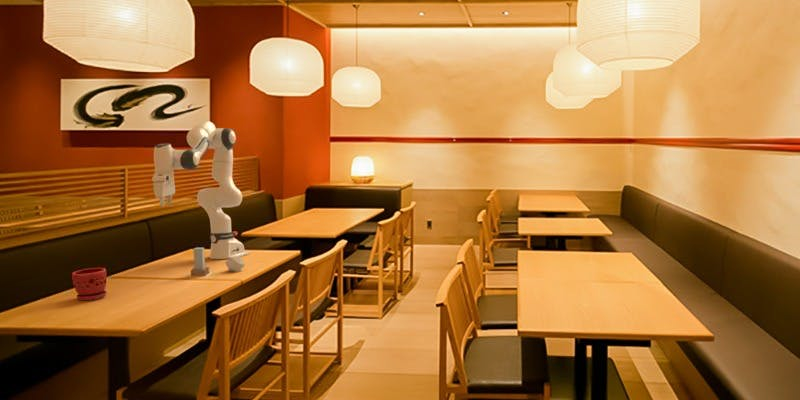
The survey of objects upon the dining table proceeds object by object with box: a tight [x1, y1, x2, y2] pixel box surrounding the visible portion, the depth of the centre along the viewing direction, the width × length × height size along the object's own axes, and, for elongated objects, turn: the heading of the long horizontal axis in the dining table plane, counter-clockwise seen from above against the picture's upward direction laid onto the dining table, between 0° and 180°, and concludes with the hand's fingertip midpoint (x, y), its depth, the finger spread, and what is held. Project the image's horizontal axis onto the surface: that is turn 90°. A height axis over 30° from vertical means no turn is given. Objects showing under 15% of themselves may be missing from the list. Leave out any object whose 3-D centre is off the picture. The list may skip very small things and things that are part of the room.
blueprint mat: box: [188, 272, 212, 278], centre depth 324 cm, size 14×12×1 cm
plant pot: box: [71, 267, 108, 301], centre depth 280 cm, size 13×13×12 cm
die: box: [225, 256, 246, 273], centre depth 331 cm, size 8×9×10 cm
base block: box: [190, 266, 211, 276], centre depth 323 cm, size 7×7×3 cm
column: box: [193, 247, 206, 270], centre depth 322 cm, size 4×4×10 cm
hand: (166, 205), depth 327 cm, fingers open, 8 cm apart
